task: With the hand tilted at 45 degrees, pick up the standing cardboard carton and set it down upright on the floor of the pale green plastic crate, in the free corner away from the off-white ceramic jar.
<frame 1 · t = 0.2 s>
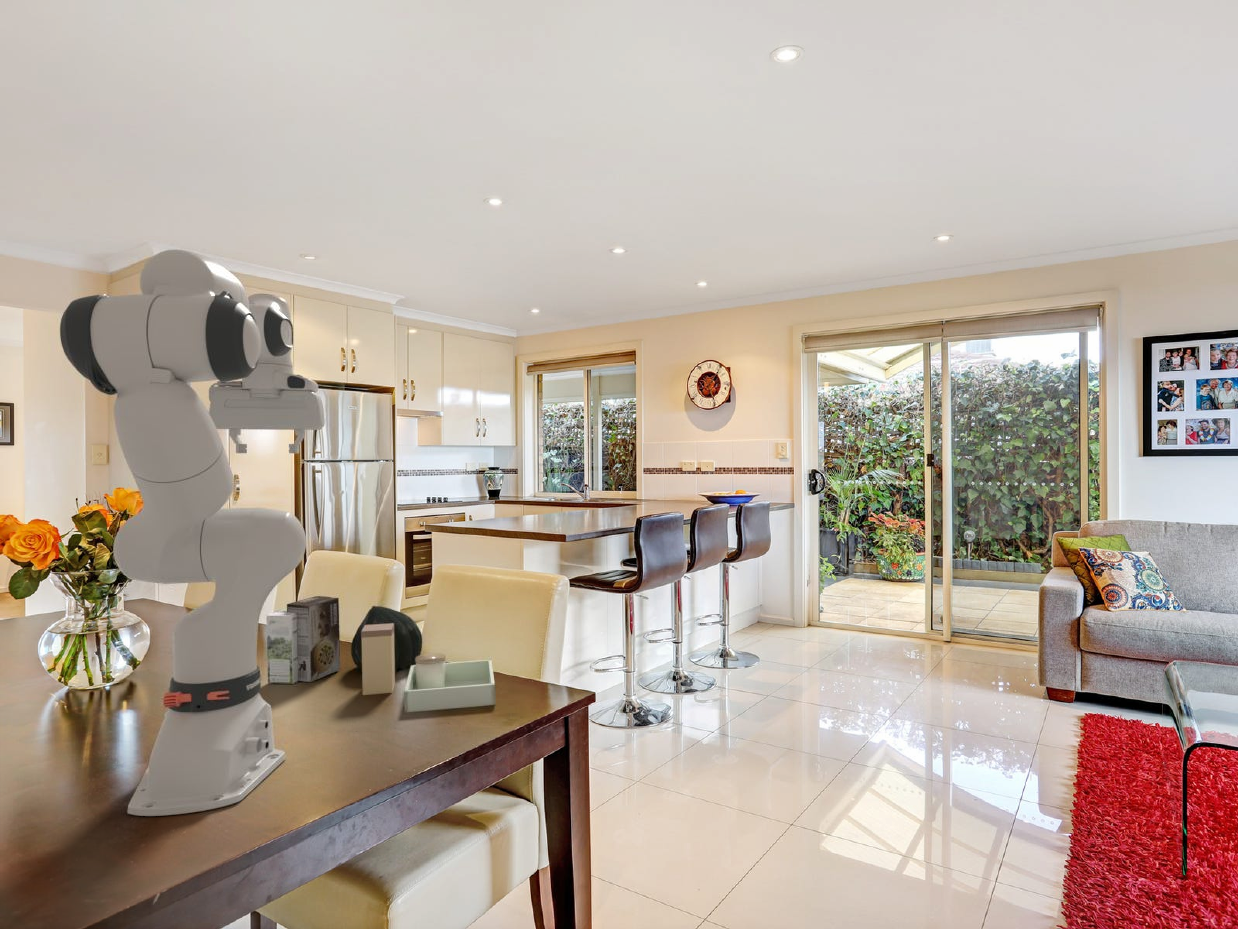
hand: (267, 453, 139), 48 cm above the table, tool pointing down, fingers open, 8 cm apart
coffee box: (314, 676, 155), on the table, touching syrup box
squash: (387, 671, 158), on the table
jar: (430, 687, 143), point 1 cm above the table, touching crate
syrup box: (287, 681, 152), on the table, touching coffee box
carton: (379, 693, 143), on the table
crate: (451, 697, 139), on the table
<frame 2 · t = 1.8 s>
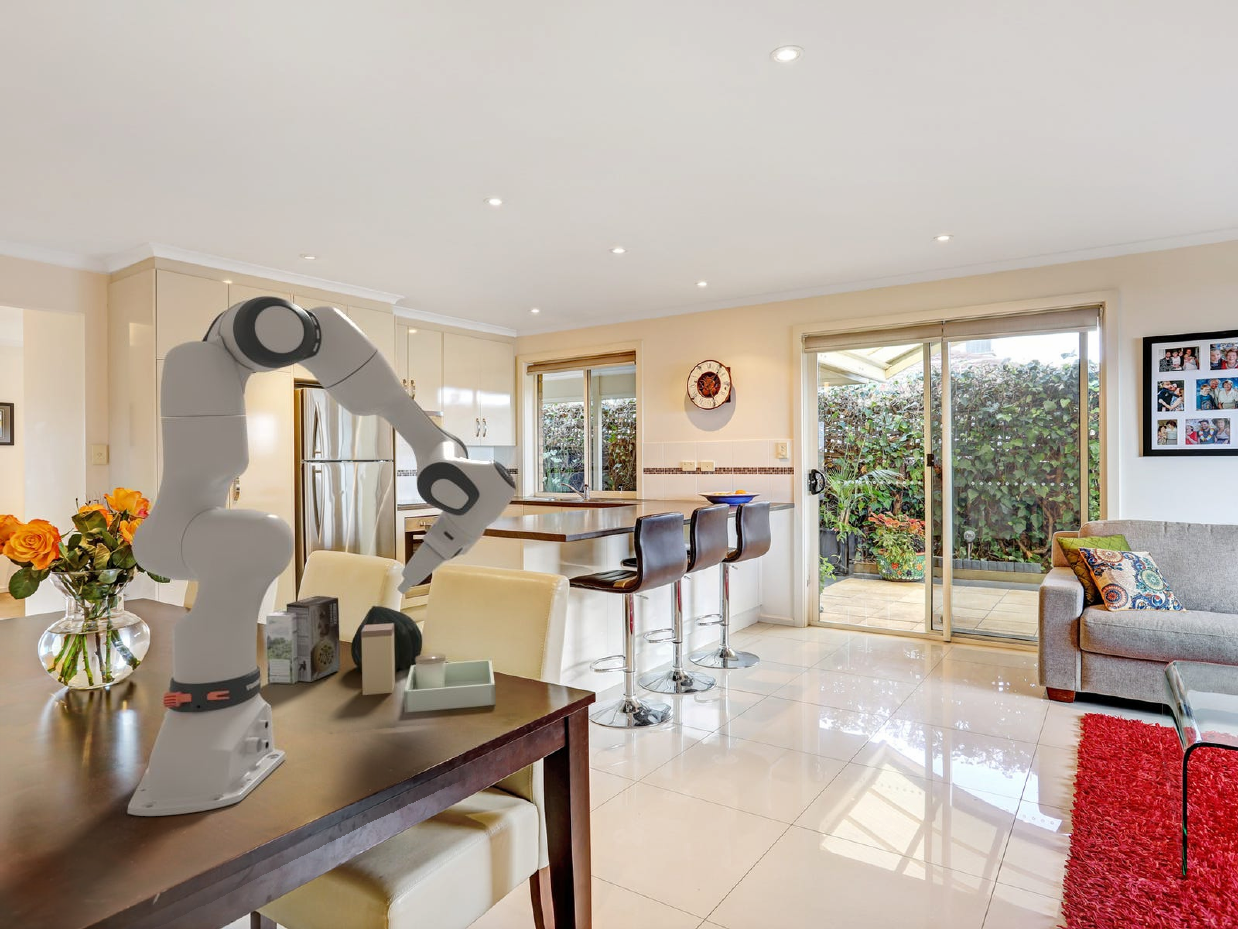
hand: (410, 583, 142), 22 cm above the table, tool tilted 45°, fingers open, 8 cm apart
nothing on the table moved.
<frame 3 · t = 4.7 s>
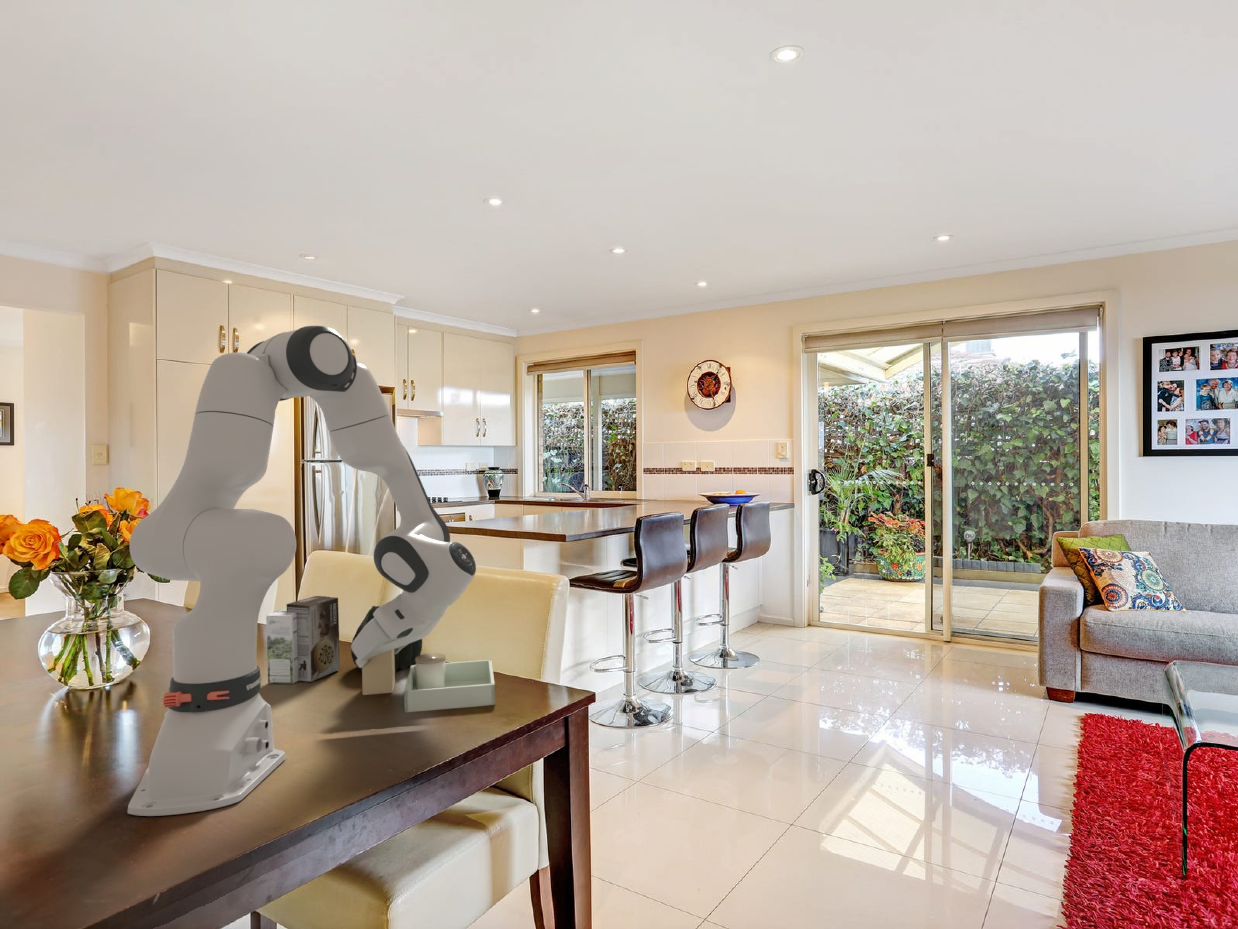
hand: (376, 658, 143), 7 cm above the table, tool tilted 45°, fingers closed on carton, 8 cm apart
carton: (379, 693, 143), on the table, touching gripper
everything else where it was.
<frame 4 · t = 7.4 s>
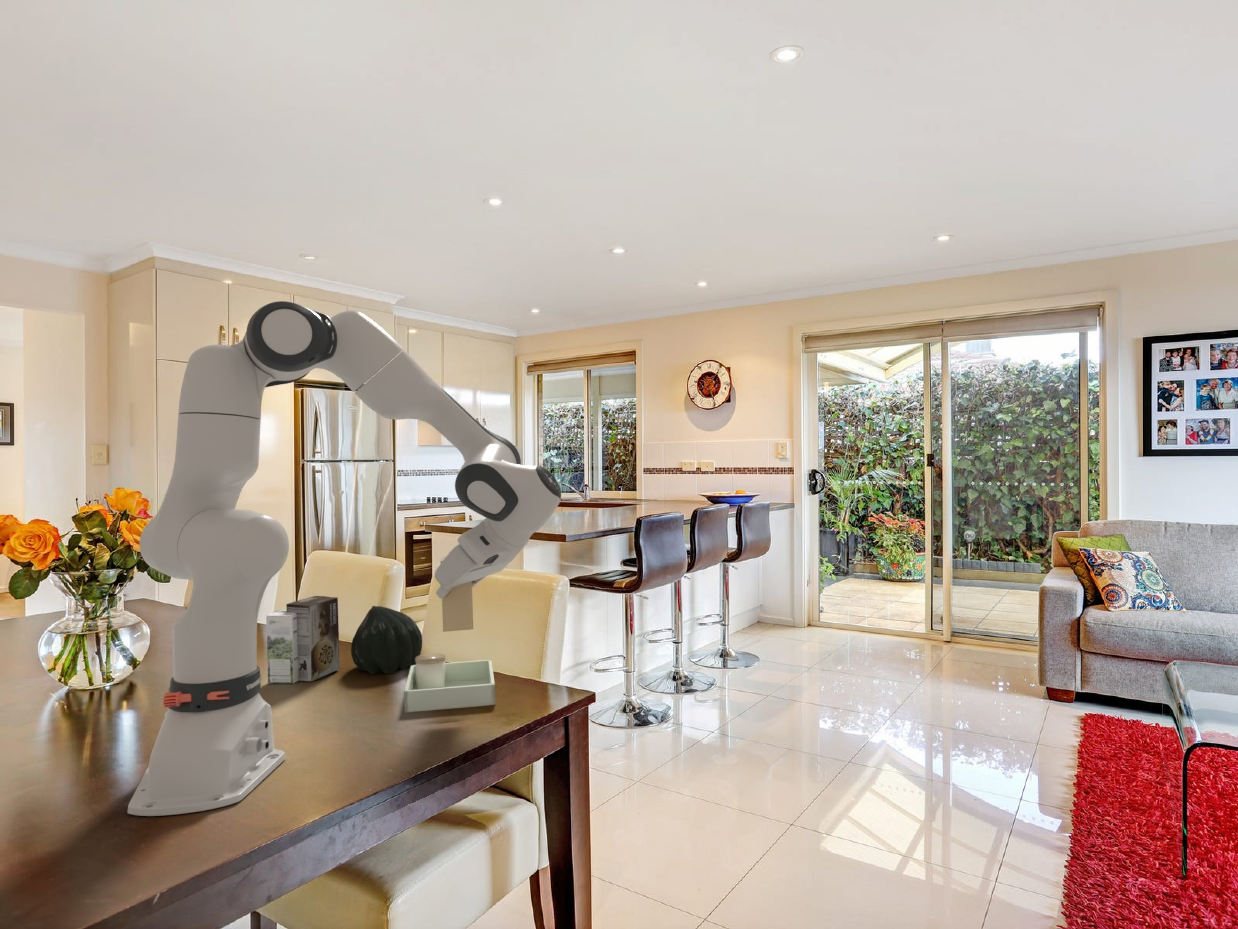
hand: (454, 590, 137), 21 cm above the table, tool tilted 45°, fingers closed on carton, 8 cm apart
carton: (458, 627, 137), point 14 cm above the table, touching gripper
everything else where it was.
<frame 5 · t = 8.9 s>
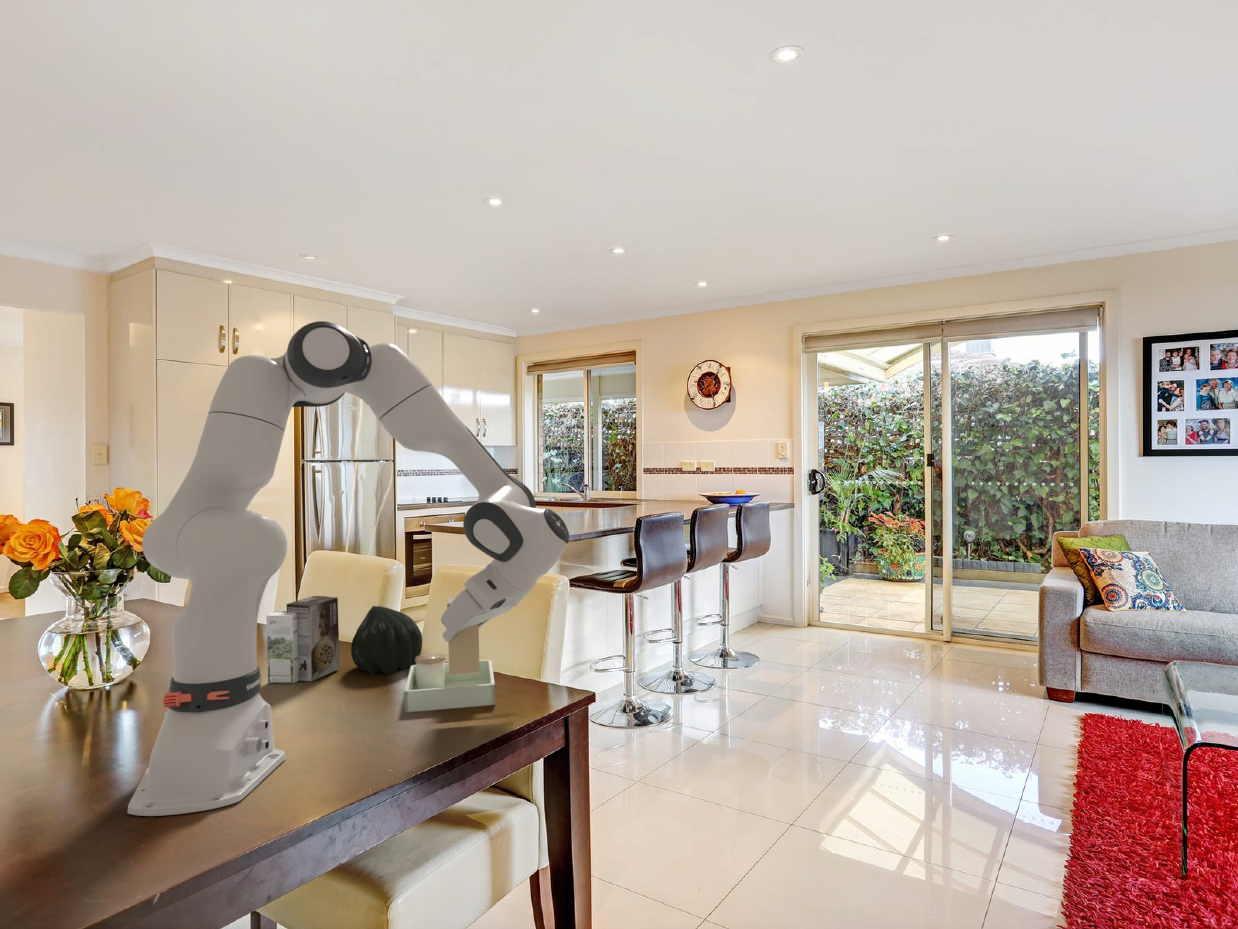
hand: (460, 632, 136), 13 cm above the table, tool tilted 45°, fingers closed on carton, 8 cm apart
carton: (464, 669, 136), point 6 cm above the table, touching gripper
everything else where it was.
when the fingers open (10 cm above the table, at t = 10.2 s): carton drops 2 cm, resting on crate.
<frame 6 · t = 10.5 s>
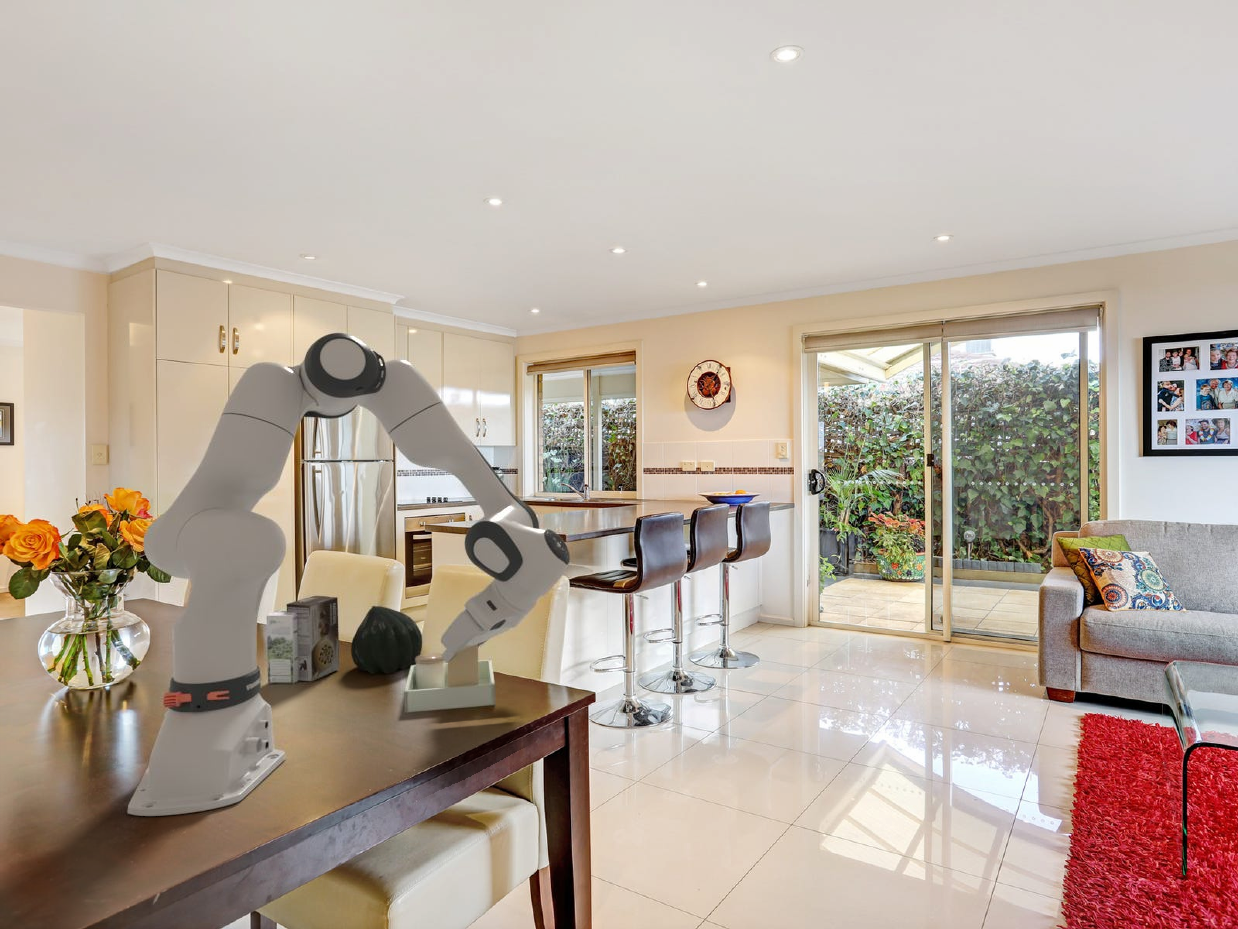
hand: (460, 652, 136), 10 cm above the table, tool tilted 45°, fingers open, 8 cm apart
carton: (463, 699, 136), point 1 cm above the table, touching crate
everything else where it was.
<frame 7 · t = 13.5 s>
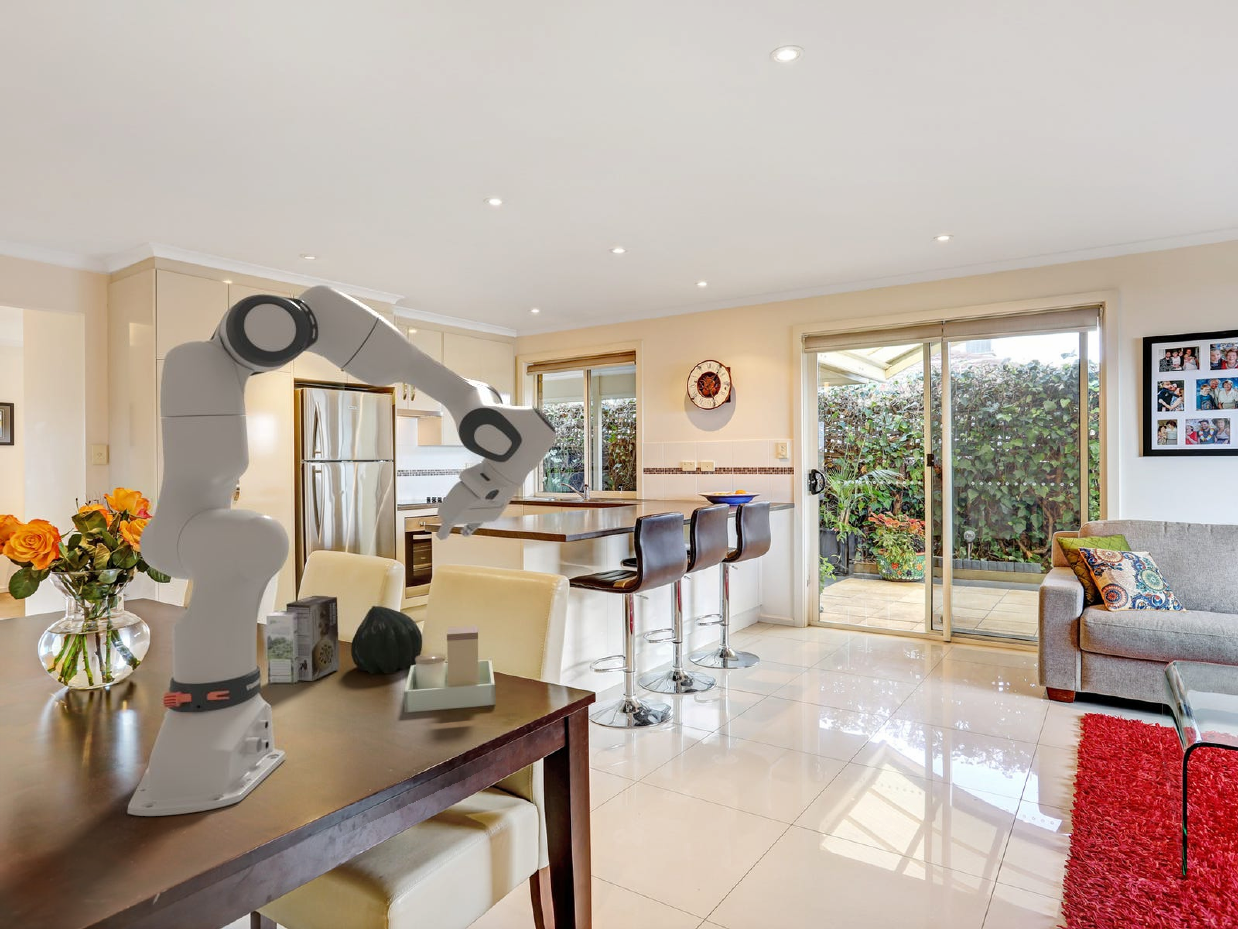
hand: (452, 536, 140), 31 cm above the table, tool tilted 40°, fingers open, 8 cm apart
nothing on the table moved.
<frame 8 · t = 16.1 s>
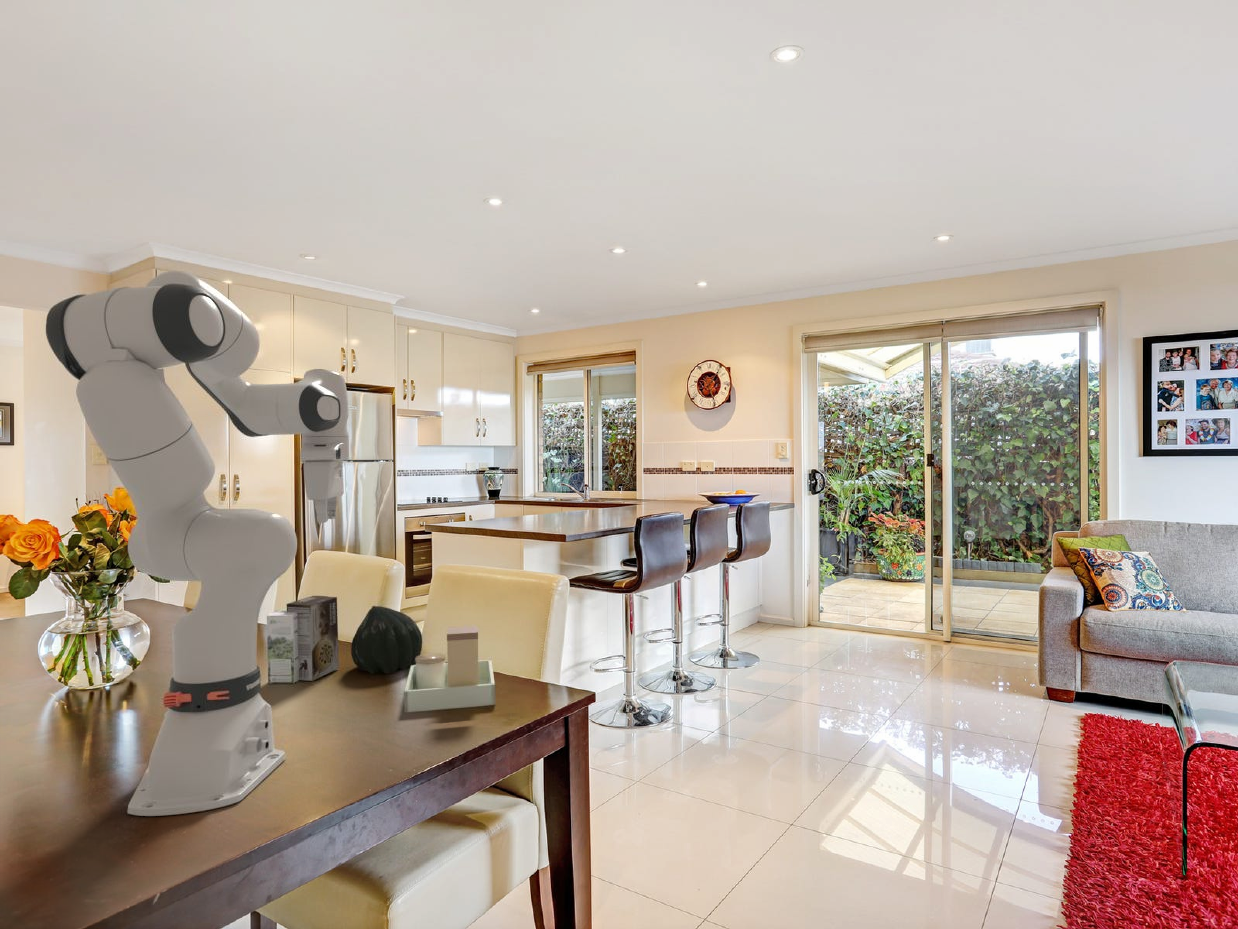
hand: (326, 520, 145), 34 cm above the table, tool pointing down, fingers open, 8 cm apart
nothing on the table moved.
at the end: carton inside the target area on the crate (4.7 cm from its centre), point 0.8 cm above the crate's base; carton tilted 0°; jar moved 0.0 cm from its start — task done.
